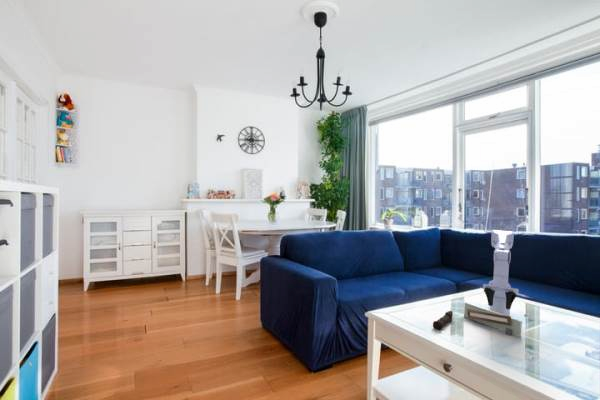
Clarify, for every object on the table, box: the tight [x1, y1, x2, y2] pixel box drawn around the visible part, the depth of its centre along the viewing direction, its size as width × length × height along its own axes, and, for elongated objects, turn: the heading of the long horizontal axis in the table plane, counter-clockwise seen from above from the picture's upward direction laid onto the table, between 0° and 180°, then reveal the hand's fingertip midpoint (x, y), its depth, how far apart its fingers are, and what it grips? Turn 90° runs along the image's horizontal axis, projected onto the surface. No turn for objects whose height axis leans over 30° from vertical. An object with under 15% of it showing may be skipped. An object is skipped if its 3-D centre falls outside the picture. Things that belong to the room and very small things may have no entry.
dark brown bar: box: [432, 310, 453, 331], centre depth 155 cm, size 19×4×5 cm, turn 134°
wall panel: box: [463, 301, 523, 338], centre depth 155 cm, size 4×26×7 cm, turn 30°
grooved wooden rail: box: [467, 309, 512, 326], centre depth 155 cm, size 1×20×4 cm, turn 30°
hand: (499, 307), depth 148 cm, fingers open, 7 cm apart
